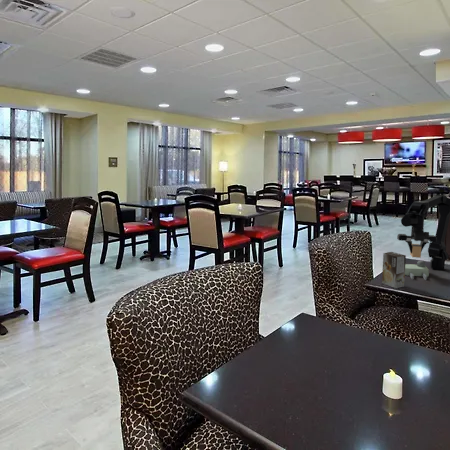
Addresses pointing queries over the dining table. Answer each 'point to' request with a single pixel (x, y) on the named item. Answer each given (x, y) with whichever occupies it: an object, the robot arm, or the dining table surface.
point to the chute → (416, 250)
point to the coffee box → (393, 269)
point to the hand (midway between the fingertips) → (415, 253)
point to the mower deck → (417, 270)
